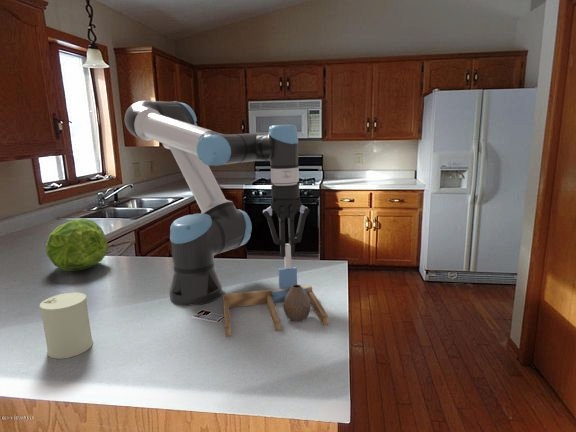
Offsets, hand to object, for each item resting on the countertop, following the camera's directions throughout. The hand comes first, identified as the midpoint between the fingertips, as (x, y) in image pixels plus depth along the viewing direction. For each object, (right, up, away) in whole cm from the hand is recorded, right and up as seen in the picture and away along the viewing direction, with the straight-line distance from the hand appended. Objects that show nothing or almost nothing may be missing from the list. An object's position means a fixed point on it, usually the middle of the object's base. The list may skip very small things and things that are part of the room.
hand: (288, 267), depth 112 cm
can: (-49, -16, -21) cm, 56 cm away
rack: (-4, -11, -8) cm, 15 cm away
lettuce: (-77, -5, +34) cm, 84 cm away
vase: (+2, -12, -10) cm, 16 cm away
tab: (0, -6, +1) cm, 6 cm away
